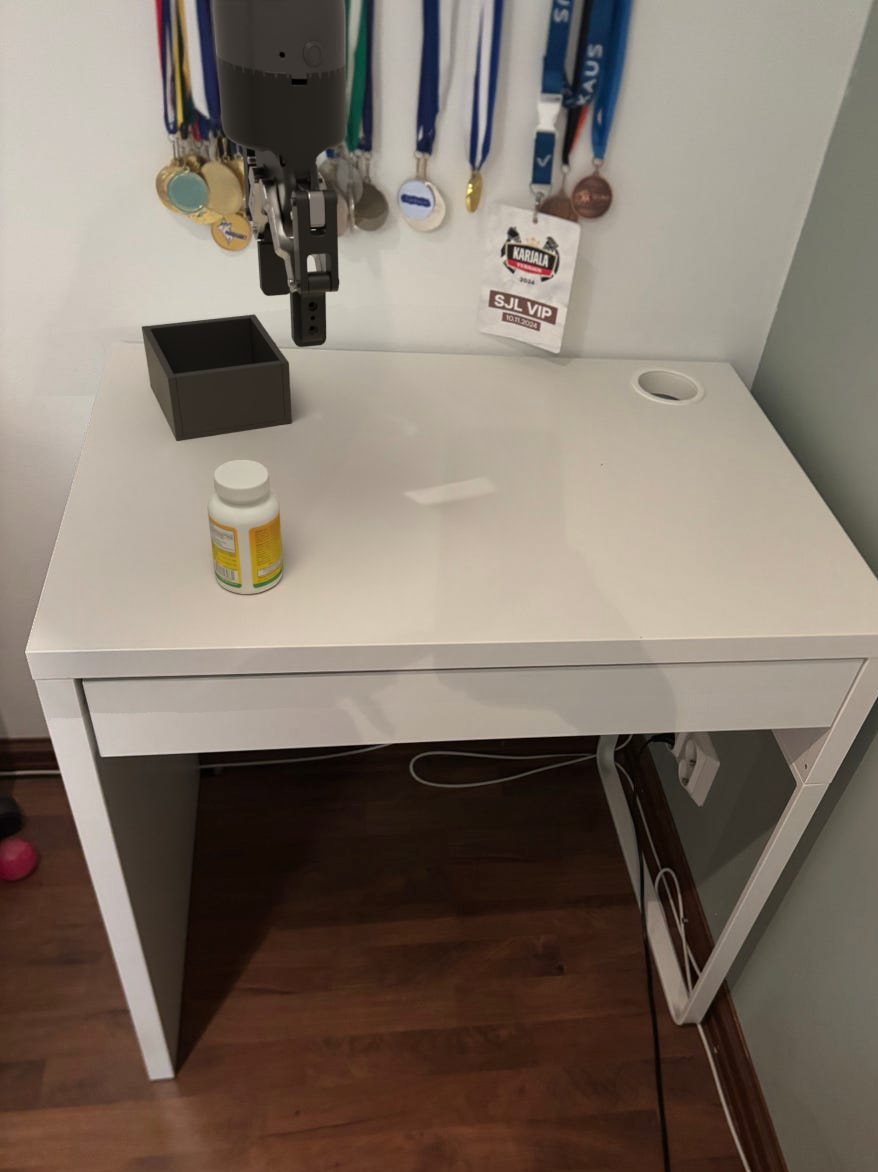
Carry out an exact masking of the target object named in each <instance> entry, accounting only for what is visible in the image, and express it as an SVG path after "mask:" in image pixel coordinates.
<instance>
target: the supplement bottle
mask: <svg viewBox="0 0 878 1172" xmlns="http://www.w3.org/2000/svg"><path fill="white" fill-rule="evenodd" d="M213 482H214V484H213V485H214V486H213V488H214V492H213V493H212V494H211V495H210V497H209V499H208V502H207V515H208V516H207V517H208V526H209V533H210V543H211V544H210V545H211V553H212V560H213V569H214V576H215V579H216V581H217V582H218V584H219V585H220V586H221V587H222V588H223V589H226V590H227V591H229V592H232V593H235V594H242V595H253V594H258V593H263V592H264V591H267V590H269V589H271V588H273V587H274V586H275V585H277V584H278V583H279V582H280V580H281V579H282V576H283V572H284V568H283V567H284V564H283V546H282V545H283V544H282V543H283V542H282V529H281V527H282V526H281V507H280V501H279V498H278V497H277V495H276V494H275V493H274V491H273V490H271V489H270V488H271V482H270V474H269V470H268V469H267V467H266V466H265V465H263V464H262V463H260V462H258V461H255V460H251V459H234V460H230V461H227V462H224V463H222V464H220V465H218V467H217V468H215V470H214V472H213Z"/></svg>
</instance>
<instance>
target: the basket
mask: <svg viewBox="0 0 878 1172" xmlns="http://www.w3.org/2000/svg"><path fill="white" fill-rule="evenodd" d="M141 331H142V339H143V346H144V352H145V357H146V366H147V371H148V377H149V383H150V389H151V390H152V392H153V394H154V396H155V399H156V400H157V403H158V405H159V407H160V409H161V411H162V413H163V416H164V417H165V419H166V421H167V423H168V426H169V428H170V430H171V432H172V434H173V437H174V438H175V440H176V441H184V440H191V439H197V438H203V437H210V436H211V437H212V436H218V435H223V434H229V433H236V432H242V431H249V430H256V429H262V428H267V427H277V426H282V425H288V424H292V423H293V418H292V417H293V416H292V398H291V397H292V396H291V377H290V362H289V360H288V359H287V358H286V356H285V355H284V353H283V352H282V351H281V349H280V348H279V346H278V345H277V344H276V342H275V340H274V339H273V338H272V337H271V335H270V333H269V332H268V331H267V329H266V328H265V326H264V325H263V323H262V322H261V321H260V320H259V318H258V316H257V315H256V314H255V313H253V314H245V315H236V316H235V315H234V316H226V317H218V318H209V319H207V318H206V319H199V320H190V321H181V322H179V321H178V322H170V323H163V324H152V325H142V326H141Z"/></svg>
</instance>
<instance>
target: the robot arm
mask: <svg viewBox="0 0 878 1172" xmlns="http://www.w3.org/2000/svg"><path fill="white" fill-rule="evenodd" d="M212 15H213V26H214V29H213V30H214V40H215V42H214V43H215V53H216V65H217V66H216V67H217V78H218V90H219V102H220V115H221V116H220V117H221V118H220V119H221V127H222V131H223V133H224V135H225V136H226V138H228V139H229V141H231V142H232V143H234V144H236V145H238V146H240V147H241V148H242V161H243V181H244V198H245V208H244V213H245V216H246V219H247V221H248V222H252V226H251V234H252V235H253V237H254V239H255V240H257V241H256V244H257V259H258V260H257V261H258V262H257V263H258V276H259V277H258V278H259V288H260V290H261V292H262V293H263V295H265V296H266V297H275V296H286V295H289V308H290V309H289V310H290V333H291V334H290V335H291V339H292V341H293V343H294V344H295V346H296V347H298V348H307V347H316V346H317V347H319V346H322V345H324V344H325V343H326V341H327V293H335V292H337V293H338V292H339V288H340V275H339V236H338V233H339V232H338V196H337V194H336V190H335V189H333V188H327V189H326V187H325V182H324V178H323V177H322V176H319V169H318V165H317V161H318V157H319V156H320V155H321V154H322V153H324V152H325V151H332V150H334V149H336V148H338V147H340V146H341V145H342V144H343V143H344V140H345V139H346V136H347V74H346V72H347V52H346V51H347V39H346V38H347V19H346V17H347V15H346V3H345V0H212ZM310 256H311V257H312V258H313V259H314V263H315V270H312V271H311V270H310V271H308V258H309V257H310Z"/></svg>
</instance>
